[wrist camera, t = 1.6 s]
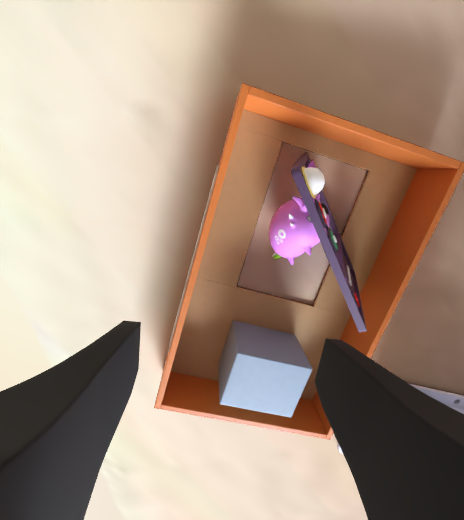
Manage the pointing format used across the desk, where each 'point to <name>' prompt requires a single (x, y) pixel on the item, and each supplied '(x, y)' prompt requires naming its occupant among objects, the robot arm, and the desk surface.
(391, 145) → the wooden tray
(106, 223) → the desk surface
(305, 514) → the desk surface
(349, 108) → the desk surface
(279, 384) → the small cube
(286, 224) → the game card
